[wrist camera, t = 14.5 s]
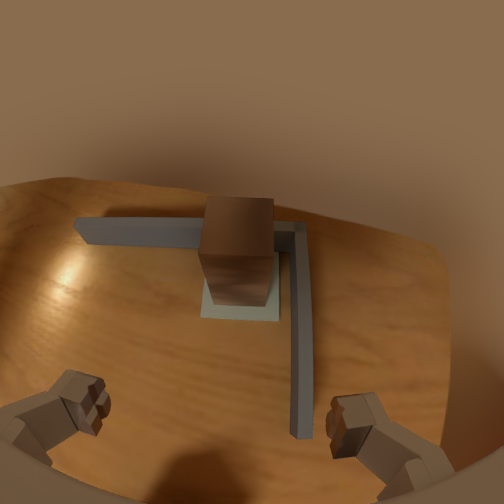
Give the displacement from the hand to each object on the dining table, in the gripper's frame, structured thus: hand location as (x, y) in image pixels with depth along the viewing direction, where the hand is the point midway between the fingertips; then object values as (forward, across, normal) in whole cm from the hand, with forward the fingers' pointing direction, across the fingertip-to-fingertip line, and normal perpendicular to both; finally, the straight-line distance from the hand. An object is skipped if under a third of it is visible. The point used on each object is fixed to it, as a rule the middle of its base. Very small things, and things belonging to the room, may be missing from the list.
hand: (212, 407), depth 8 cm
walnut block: (+20, 0, +3) cm, 20 cm away
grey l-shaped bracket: (+16, +7, +7) cm, 19 cm away
